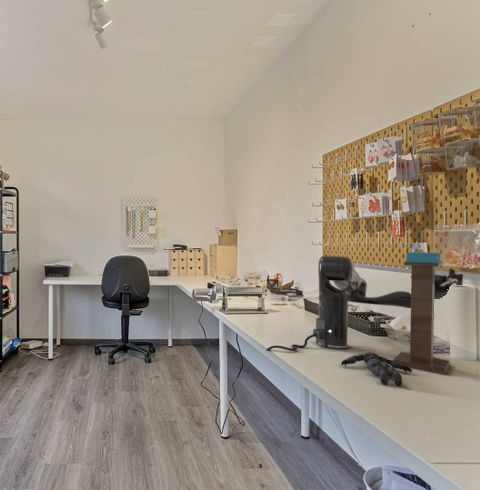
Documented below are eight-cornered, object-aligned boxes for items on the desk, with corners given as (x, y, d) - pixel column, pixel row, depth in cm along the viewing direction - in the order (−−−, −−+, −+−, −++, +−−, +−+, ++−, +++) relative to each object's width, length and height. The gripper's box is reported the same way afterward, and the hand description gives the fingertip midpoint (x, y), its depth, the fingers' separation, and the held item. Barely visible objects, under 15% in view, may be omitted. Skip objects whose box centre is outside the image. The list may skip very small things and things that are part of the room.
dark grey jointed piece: (432, 392, 93) (399, 365, 112) (433, 375, 93) (400, 351, 112) (352, 383, 99) (334, 358, 118) (353, 367, 99) (334, 345, 118)
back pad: (436, 263, 107) (436, 253, 107) (406, 262, 112) (406, 252, 112) (443, 261, 120) (444, 252, 120) (416, 260, 125) (416, 251, 125)
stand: (445, 374, 105) (447, 263, 104) (393, 364, 114) (395, 261, 113) (449, 365, 113) (451, 262, 112) (400, 356, 122) (402, 260, 121)
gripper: (464, 300, 133) (461, 280, 124) (414, 295, 144) (408, 277, 134) (465, 281, 136) (462, 261, 126) (416, 278, 146) (410, 259, 137)
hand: (434, 269), depth 130 cm, fingers open, 8 cm apart
